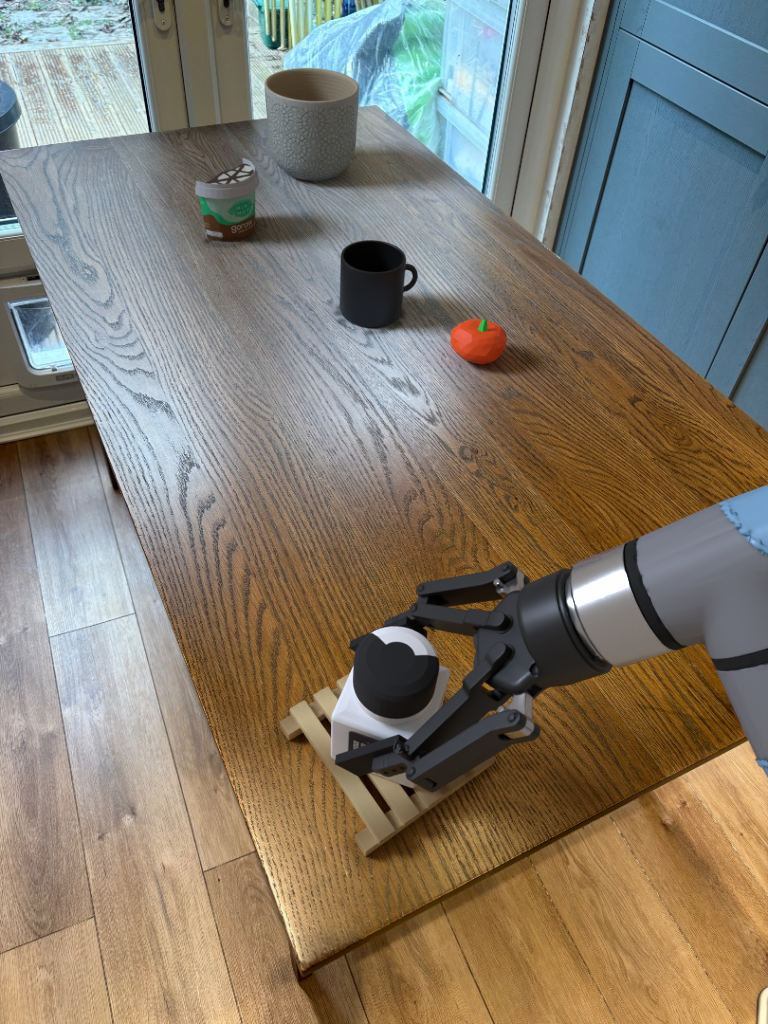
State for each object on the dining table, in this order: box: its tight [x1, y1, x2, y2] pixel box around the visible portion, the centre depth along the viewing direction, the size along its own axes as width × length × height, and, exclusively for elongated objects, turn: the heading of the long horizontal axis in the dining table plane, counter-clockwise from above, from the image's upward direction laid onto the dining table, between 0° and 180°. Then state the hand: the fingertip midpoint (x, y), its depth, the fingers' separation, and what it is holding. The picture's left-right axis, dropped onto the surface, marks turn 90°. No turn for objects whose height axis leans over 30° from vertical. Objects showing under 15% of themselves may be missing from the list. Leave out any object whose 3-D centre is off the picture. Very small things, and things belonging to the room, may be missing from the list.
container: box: [330, 627, 451, 789], centre depth 61 cm, size 8×8×13 cm
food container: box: [194, 157, 260, 243], centre depth 124 cm, size 12×6×10 cm, turn 147°
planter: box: [264, 67, 360, 182], centre depth 140 cm, size 17×17×15 cm
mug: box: [339, 239, 419, 328], centre depth 111 cm, size 9×12×9 cm
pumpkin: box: [449, 318, 508, 365], centre depth 105 cm, size 7×8×6 cm
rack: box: [279, 672, 497, 857], centre depth 67 cm, size 14×14×2 cm
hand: (354, 705), depth 62 cm, fingers open, 10 cm apart
